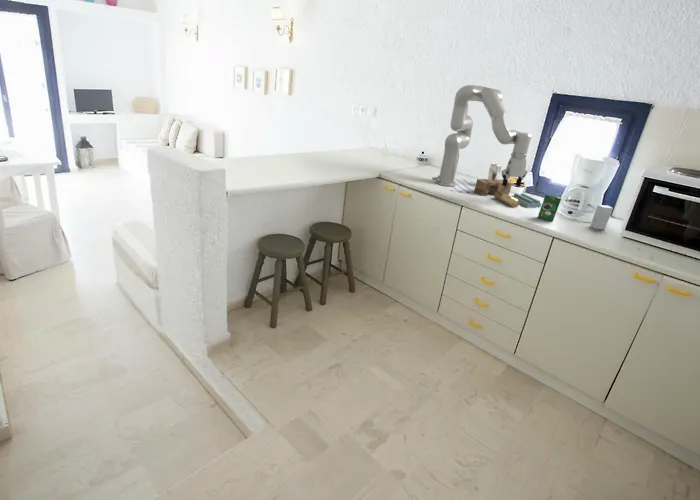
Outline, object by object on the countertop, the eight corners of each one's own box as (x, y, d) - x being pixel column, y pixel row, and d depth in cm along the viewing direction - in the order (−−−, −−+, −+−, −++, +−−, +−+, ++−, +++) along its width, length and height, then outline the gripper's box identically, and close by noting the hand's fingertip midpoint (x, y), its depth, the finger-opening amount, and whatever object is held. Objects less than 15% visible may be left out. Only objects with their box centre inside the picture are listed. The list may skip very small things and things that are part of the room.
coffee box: (553, 220, 219) (561, 197, 213) (553, 222, 217) (561, 198, 211) (537, 216, 222) (545, 193, 217) (537, 218, 220) (544, 194, 214)
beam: (481, 195, 248) (485, 183, 244) (474, 191, 254) (477, 179, 251) (508, 195, 255) (512, 183, 251) (500, 191, 261) (503, 179, 258)
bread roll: (516, 208, 234) (520, 200, 232) (510, 207, 232) (513, 199, 230) (499, 199, 247) (502, 191, 246) (492, 198, 245) (495, 190, 244)
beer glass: (496, 189, 265) (502, 166, 259) (485, 188, 266) (491, 165, 260) (495, 187, 271) (501, 164, 265) (484, 185, 272) (490, 163, 266)
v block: (526, 207, 236) (528, 201, 234) (510, 199, 247) (512, 193, 246) (540, 207, 239) (542, 201, 237) (523, 199, 251) (525, 193, 249)
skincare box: (599, 226, 219) (608, 205, 214) (604, 229, 215) (613, 208, 210) (589, 225, 218) (597, 204, 213) (594, 229, 214) (603, 207, 209)
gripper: (510, 156, 221) (502, 187, 228) (535, 157, 227) (527, 187, 234) (501, 153, 228) (494, 183, 235) (526, 154, 234) (518, 184, 241)
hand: (510, 185), depth 234 cm, fingers open, 9 cm apart
